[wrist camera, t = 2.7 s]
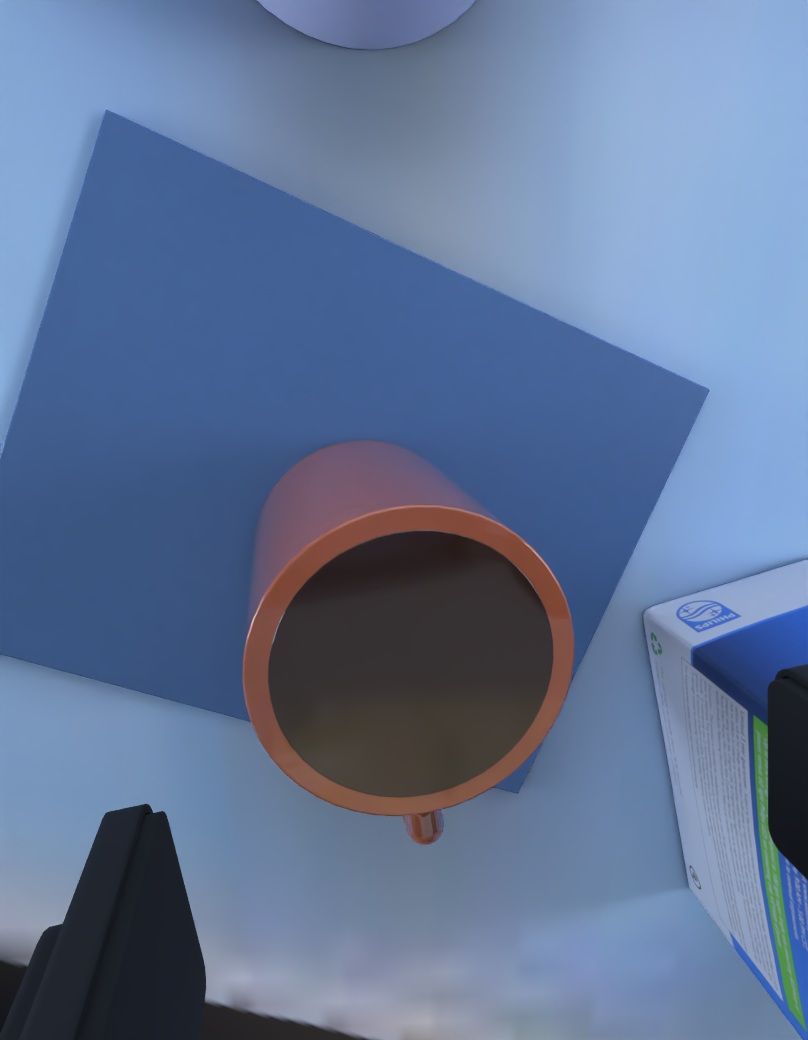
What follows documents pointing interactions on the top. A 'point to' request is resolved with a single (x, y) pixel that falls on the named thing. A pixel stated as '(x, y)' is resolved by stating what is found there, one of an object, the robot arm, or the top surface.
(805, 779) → the robot arm
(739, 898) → the string lights box
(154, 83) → the top surface
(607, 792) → the top surface
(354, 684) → the mug
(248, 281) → the blue rectangular mat
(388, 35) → the wedge on round base
